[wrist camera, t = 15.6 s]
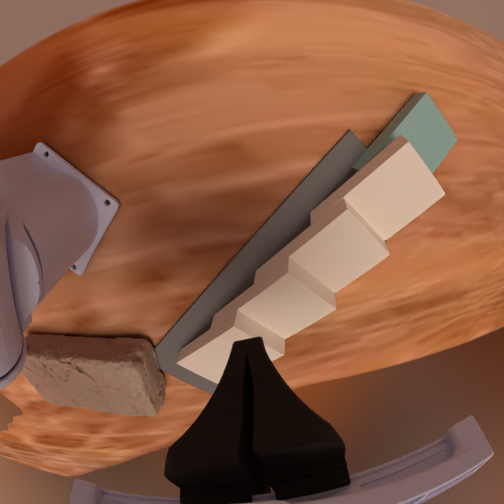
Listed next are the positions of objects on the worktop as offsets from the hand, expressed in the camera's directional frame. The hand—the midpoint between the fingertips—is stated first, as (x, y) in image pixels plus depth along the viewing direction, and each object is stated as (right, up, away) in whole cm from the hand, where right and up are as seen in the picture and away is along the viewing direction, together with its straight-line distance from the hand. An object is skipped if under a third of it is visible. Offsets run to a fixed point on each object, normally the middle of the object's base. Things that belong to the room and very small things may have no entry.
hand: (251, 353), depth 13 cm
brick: (-18, -7, +13) cm, 23 cm away
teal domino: (+9, +9, +7) cm, 15 cm away
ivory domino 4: (-5, -6, +13) cm, 15 cm away
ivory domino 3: (-1, -2, +11) cm, 12 cm away
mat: (+2, +1, +11) cm, 11 cm away
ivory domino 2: (+2, +1, +10) cm, 10 cm away
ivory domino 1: (+6, +6, +8) cm, 12 cm away
